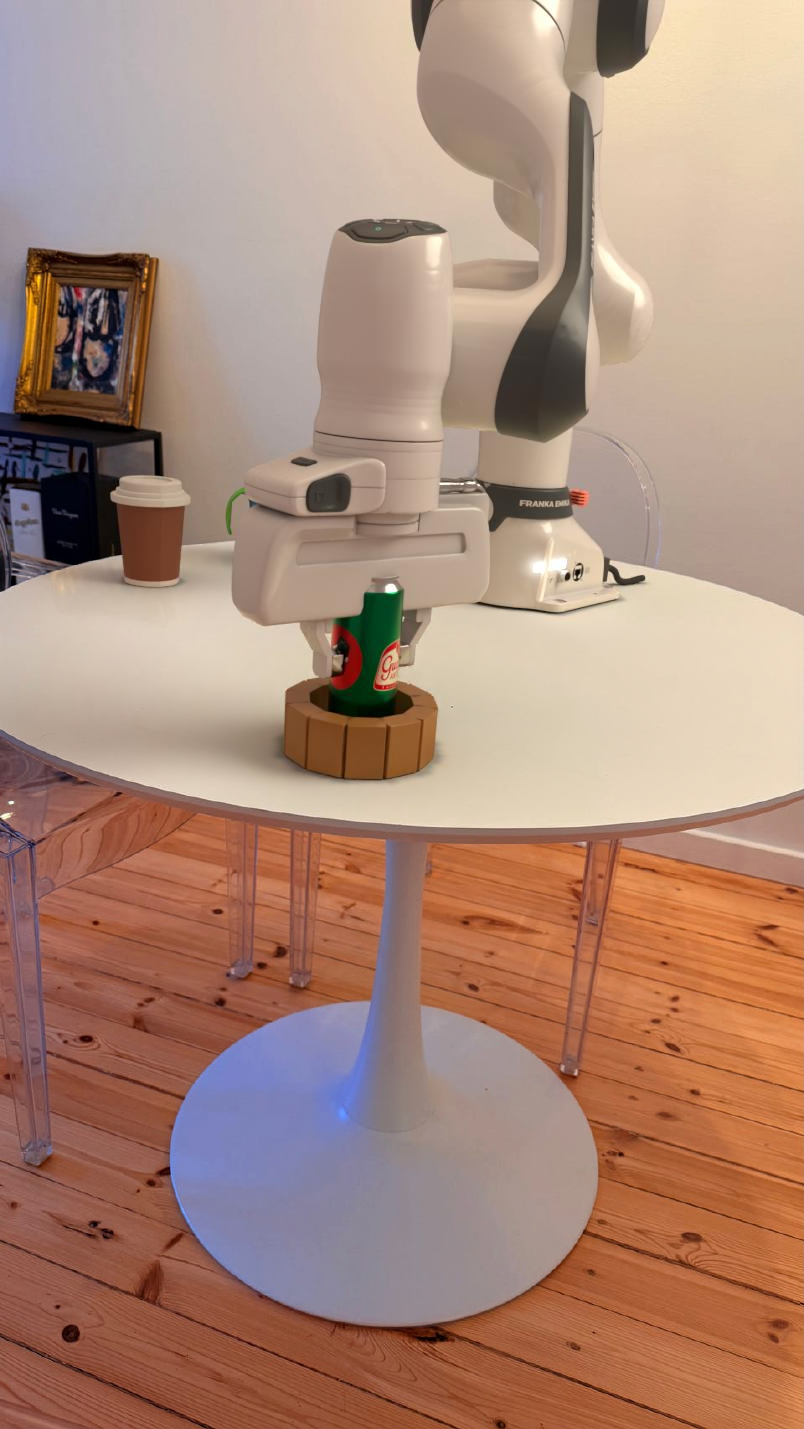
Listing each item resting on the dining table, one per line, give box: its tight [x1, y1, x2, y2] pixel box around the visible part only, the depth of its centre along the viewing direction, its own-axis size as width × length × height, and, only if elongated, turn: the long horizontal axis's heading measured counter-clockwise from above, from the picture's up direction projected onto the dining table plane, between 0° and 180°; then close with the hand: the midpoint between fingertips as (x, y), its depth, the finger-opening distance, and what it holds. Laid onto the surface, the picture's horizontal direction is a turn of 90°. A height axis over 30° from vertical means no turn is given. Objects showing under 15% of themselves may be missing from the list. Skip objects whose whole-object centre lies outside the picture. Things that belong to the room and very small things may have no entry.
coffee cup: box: [110, 474, 192, 588], centre depth 117 cm, size 9×9×12 cm
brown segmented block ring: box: [283, 677, 439, 780], centre depth 74 cm, size 11×11×4 cm
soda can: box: [327, 575, 404, 718], centre depth 72 cm, size 5×5×12 cm
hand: (363, 670), depth 73 cm, fingers closed on soda can, 5 cm apart
